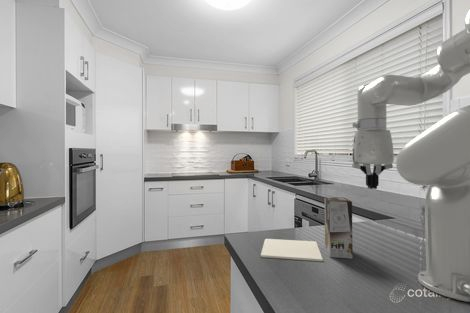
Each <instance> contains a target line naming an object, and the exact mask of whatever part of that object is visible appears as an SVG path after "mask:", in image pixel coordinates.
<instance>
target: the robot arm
mask: <svg viewBox="0 0 470 313" xmlns="http://www.w3.org/2000/svg"><path fill="white" fill-rule="evenodd" d="M464 26H465V28H464V29H462V30H461V31H459V32H458V33H456V34H455V35H453V36H451V37H450V38H448V39H446V40H444V41H442V42H441V43H440V44H439V46H438V47H437V49H436V60H437V63H438V64H437V65H435V67H433V68H432V69H430V70H428V71H426V72H424V73H423V74H421V75H418V76H416V77H413V76H406V75H398V74H397V75H396V74H385V75H382V76H380V77H378V78H377V79H375V80H374V81H372V82H371V83H370V82H369V83H365V84H362V85H361V86H359V88H358V89H357V121H356V122H353V123H352V128H355V129H356V131H355V132H354V138H353V144H352V145H353V146H352V166H351V167H352V168H353V169H357V170H360V171H361V172H362V173H364V174H365V185H366V187H367V188H368V189H372V190H377V189H378V186H379V183H380V181H379V175H381V173H383V172H384V170H389V169H392V168H393V163H394V160H395V156H394V152H395V151H394V144H393V138H392V134H391V133H392V132H391V131H390V129H387V105H393V106H394V105H395V106H397V105H398V106H406V107H407V106H408V107H410V106H416V105H420V104H423V103H425V102H427V101H430V100H432V99H436V97H439V96H441V95H443V94H445V93H447V92H449V91H450V90H451V89H452V88H453V87H454V86H455V85H457V84H458V83H459V82H460V80H461V79H462V78H463V77H464V76H467V75H469V74H470V8H469V10H468V12H467V13H466V15H465V20H464ZM396 157H397V158H396V162H395V163H396V170H397V172H398V174H399V175H400V176H401V178H402V179H403V180H405V181H406V182H408V183H410V184H413V185H418V186H428V188H427V191H426V195H425V199H424V200H425V201H424V225H425V226H424V229H425V230H424V231H425V262H426V263H425V266H426V267H425V270H422V271H419V273H418V275H417V280H418V282H419V283H420V285H422V286H423V287H424V288H426V289H428V290H429V291H431V292H434V293H436V294H438V295H441V296H444V297H447V298H450V299H452V300H458V301H462V302H467V303H470V105H466V106H463V107H460V108H459V109H456V110H454V111H452V112H450V113H449V114H447V115H446V116H444V117H443V118H441V119H440V120H438V121H437V122H436V123H434V124H432V125H431V126H430V127H428V128H427V129H425V130H424V131H422V132H421V133H419V134H418V135H417V136H415V137H414V138H412V139H411V140H410V141H408V142H407V143H406V144H405V145H404V146H402V148H401V150H400V151H399V152H398V154H397V156H396ZM371 165H373V168H372V167H371ZM371 168H372V169H371ZM364 174H363V175H364Z"/></svg>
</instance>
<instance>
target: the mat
mask: <svg viewBox="0 0 470 313" xmlns="http://www.w3.org/2000/svg"><path fill="white" fill-rule="evenodd" d="M260 258H268V259H269V258H270V259H283V260H294V261H295V260H298V261H308V262H309V261H311V262H324V258H323V256H322V254H321V251H320V248H319V246H318V242H317V241H313V240H295V239H281V238H280V239H278V238H277V239H275V238H265V239H264V242H263V245H262V248H261V253H260Z"/></svg>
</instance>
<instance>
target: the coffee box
mask: <svg viewBox="0 0 470 313" xmlns="http://www.w3.org/2000/svg"><path fill="white" fill-rule="evenodd" d="M324 235H325V236H324V237H325V238H324V240H325V241H324V242H325V243H324V244H325V245H324V246H325V249H326V251H327V254H328V256H329V257H330V258H340V259H349V260H352V259H353V258H354V257H353V256H354V255H353V249H354V248H353V201H352V200H350V199H349V198H346V197H341V196H340V197H324Z"/></svg>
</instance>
